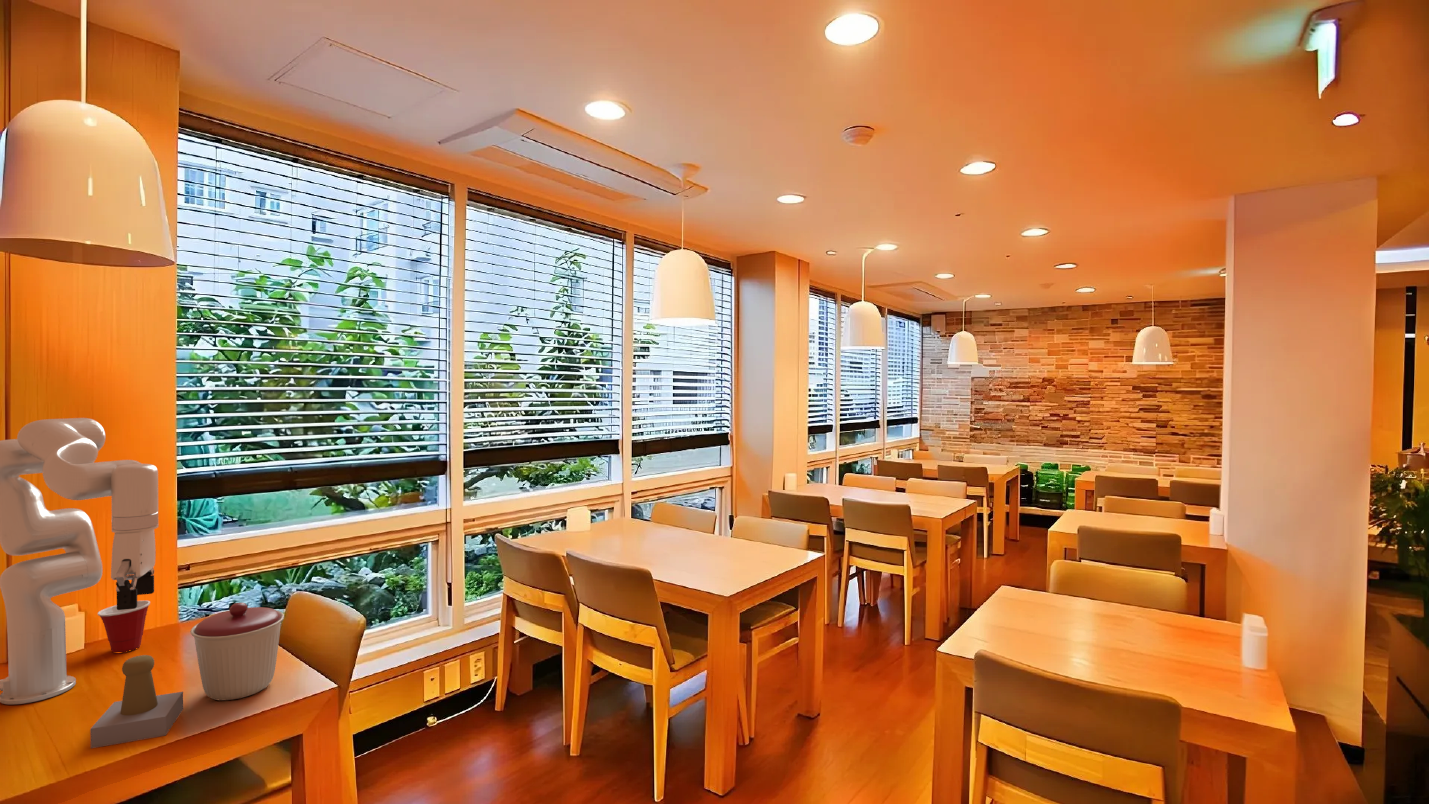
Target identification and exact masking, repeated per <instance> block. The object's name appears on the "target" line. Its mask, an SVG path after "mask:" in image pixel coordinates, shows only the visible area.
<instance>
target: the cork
mask: <svg viewBox="0 0 1429 804" xmlns="http://www.w3.org/2000/svg"><path fill="white" fill-rule="evenodd" d="M154 667H155V659H154V657H153V656H152V655H147V654H142V655H137V656H133V657H130V658H127V660H125V661H124V662H123V664H122V668H121V671H122V674H123V675H124V676H125V680H124V687H123V695H122V698H121V699H122V700H121V701H122V706H121V713H120V714H122V715H136V714H141V713H144V712H147V711H149V710H152V709H153V708H155V707H156V706H157V705H158V702H157V697H156V696H157V693H156V688H155V682H154V678H153V673H152V670H153V669H154Z"/></svg>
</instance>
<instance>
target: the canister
mask: <svg viewBox="0 0 1429 804" xmlns="http://www.w3.org/2000/svg"><path fill="white" fill-rule="evenodd" d="M284 619H285V614H284V613H283V612H282V611H280V610H276V609H274V608H271V607H266V606H265V607H261V606H258V607H257V606H255V607H254V606H253V607H248V605H247V603H245V602H235V603H233V604H232V605H231V606H230V607H229V609H228V610H227V611H222V612H219V613H217V614H213V615H211V616H208V617H207V618H204V619H203V620H201V621H200V622H198V623H197V624H195V625H194V626H193V627H192V628H191V629H190V635H191V636H192V637H194V644H195V650H196V655H197V663H198V669H199V670H198V671H199V675H200V679H201V680H200V681H201V685H202V689H203V691H204V693H205V695H206V696H207V697H208V698H210V699H212V700H216V701H230V700H238V699H242V698H246V697H249V696H252V695H255V694H256V693H259V692H261V691H263V690H264V689H266V688H267V687H268V686H269V685H270V684H271V683H272V681H273V678H274V676H275V672H276V665H277V659H278V650H279V644H280V643H279V642H280V635H281V633H280V631H281V624H282V622H283V621H284Z"/></svg>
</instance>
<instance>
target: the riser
mask: <svg viewBox="0 0 1429 804" xmlns="http://www.w3.org/2000/svg"><path fill="white" fill-rule="evenodd" d="M156 697H157V702H158V705H157V706H156V707H155V708H153V709H152V710H149V711H147V712H144V713H141V714H136V715H122V714H120V713H121V706H122V700H119V701H118V700H117V701H114V702H113V703H112V704H111V705H110V706H109V707H108V709H107V710H106V711H105V712H104V713H103V714H102V715H101V716H100V717H99V718H98V719H97V720H96V722H95V723H94V724H93V725H92V726H91V728H90V749H95V748H100V747H105V746H106V747H107V746H112V745H118V744H123V743H129V742H136V741H141V740H146V739H147V740H148V739H153V738H158V737H164V736H166V735H167V734H168V733H169V732H170V730H171V728H172V727H173V725H174V724H175V723H176V721H177V719H178V718H179V716H180V715H181V713H182V712H183V710H184V691H177V692H172V693H171V692H170V693H165V694H158V695H157V694H156ZM173 723H174V724H173ZM169 729H170V730H169Z"/></svg>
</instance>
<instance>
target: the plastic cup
mask: <svg viewBox="0 0 1429 804" xmlns="http://www.w3.org/2000/svg"><path fill="white" fill-rule="evenodd" d="M150 605H151V601H150V600H137V607H136V608H135V609H125V610H117V604H115V605H113V606H108V607H106V608H104V609H101V610H99V611H98V612H97V616H98V617H99V618H100V619H101V620H102V624H103V625H104V630H105V633H106V637H107V641H108V642H109V647H110V649H111V652H112V651H113V652H126V651H129V650H134V649H136V648H138V647H139V648H140V647H141V645H142V638H143V636H144V635H143V634H144V630H145V625H146V624H145V623H146V617H147V615H148V614H147V613H148V611H149V610H148V608H149V606H150ZM139 648H138V649H139ZM136 650H137V649H136ZM134 651H135V650H134ZM113 652H112V653H113ZM126 653H127V652H126Z"/></svg>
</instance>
